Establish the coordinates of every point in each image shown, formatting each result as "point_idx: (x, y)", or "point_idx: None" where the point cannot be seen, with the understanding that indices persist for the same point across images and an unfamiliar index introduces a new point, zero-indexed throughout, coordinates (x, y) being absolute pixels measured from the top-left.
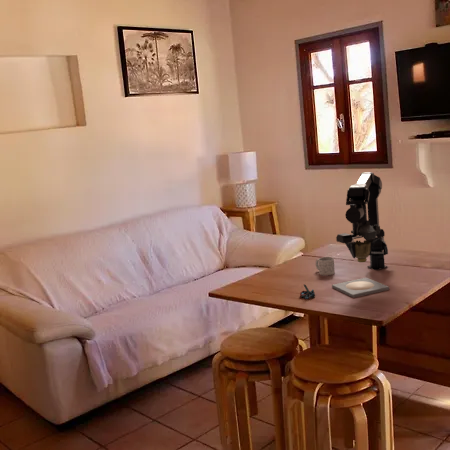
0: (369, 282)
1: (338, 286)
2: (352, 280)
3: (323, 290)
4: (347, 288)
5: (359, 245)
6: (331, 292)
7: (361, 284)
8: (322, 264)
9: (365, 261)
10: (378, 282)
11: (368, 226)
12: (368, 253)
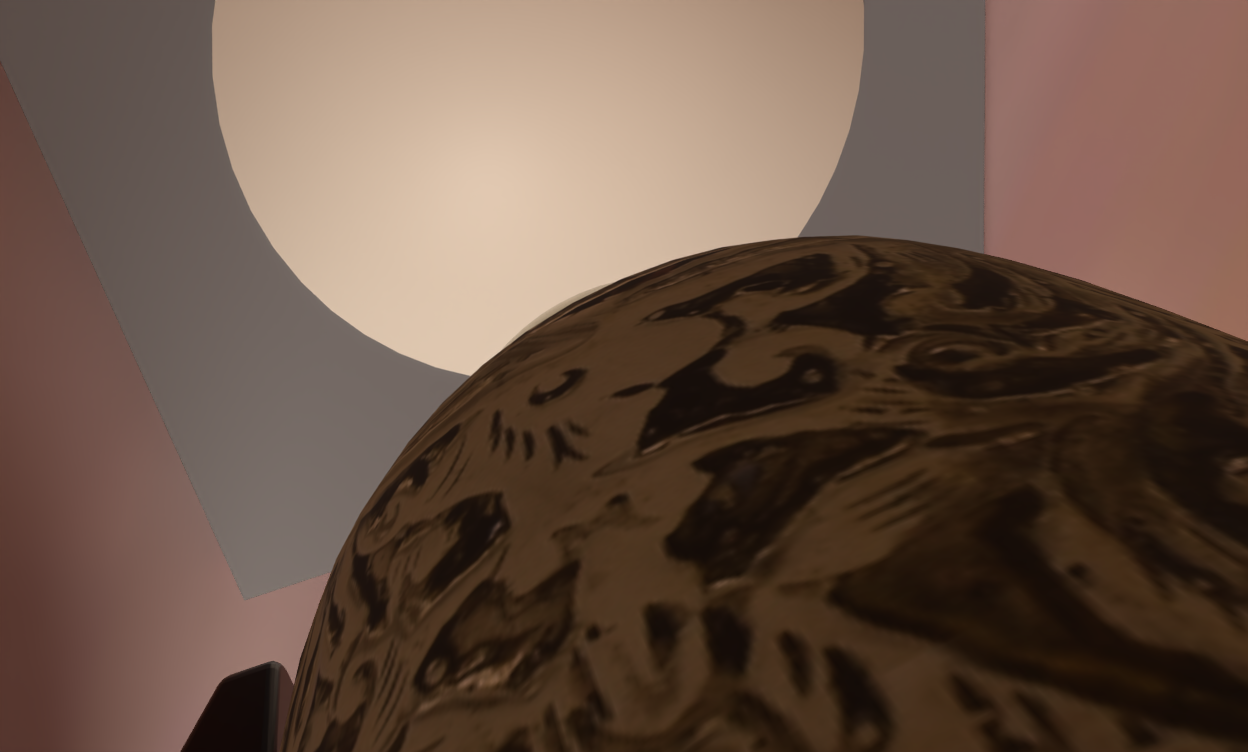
0: (281, 219)
1: (943, 214)
2: None
3: (1123, 238)
4: (867, 3)
5: None
6: (1085, 70)
7: (506, 144)
8: None
9: (541, 314)
10: (44, 148)
11: None
12: (519, 378)
